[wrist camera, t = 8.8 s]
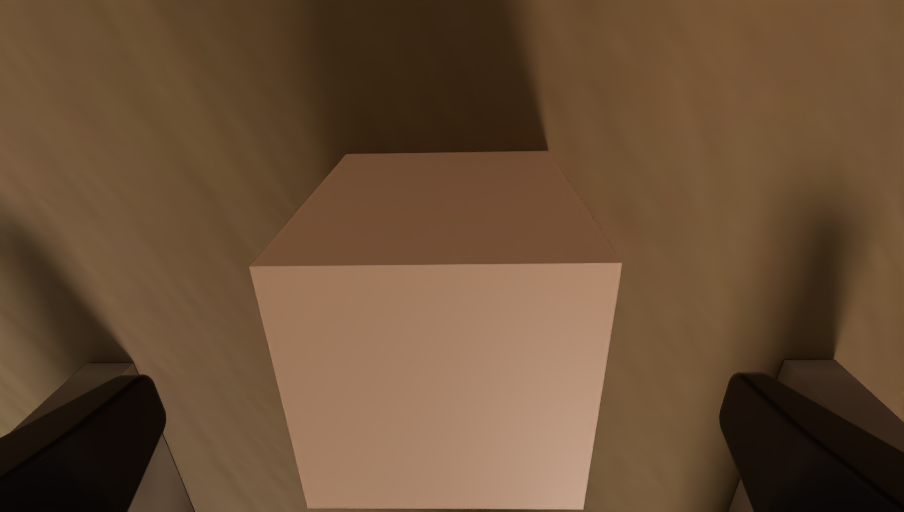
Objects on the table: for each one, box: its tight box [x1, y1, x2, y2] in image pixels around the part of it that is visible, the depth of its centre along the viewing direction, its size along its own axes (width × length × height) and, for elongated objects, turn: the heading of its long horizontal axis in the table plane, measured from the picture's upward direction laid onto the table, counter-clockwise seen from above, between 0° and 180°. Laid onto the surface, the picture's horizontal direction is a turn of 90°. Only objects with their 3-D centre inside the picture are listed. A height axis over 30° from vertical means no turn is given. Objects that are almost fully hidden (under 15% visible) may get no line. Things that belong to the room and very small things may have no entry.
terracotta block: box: [249, 151, 622, 509], centre depth 10 cm, size 5×5×6 cm
